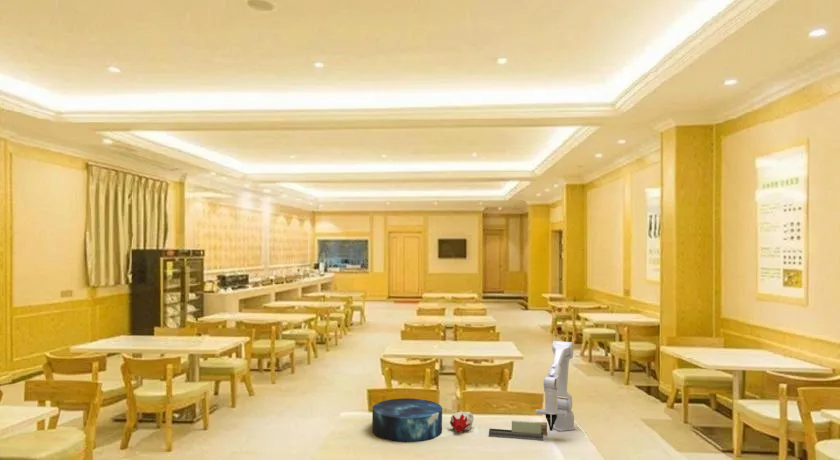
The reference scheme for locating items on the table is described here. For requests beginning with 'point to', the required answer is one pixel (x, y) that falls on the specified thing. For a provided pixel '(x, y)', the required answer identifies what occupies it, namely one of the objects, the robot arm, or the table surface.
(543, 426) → the block
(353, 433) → the table surface
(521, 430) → the pale green long bar
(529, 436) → the track
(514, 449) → the table surface
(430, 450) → the table surface
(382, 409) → the cylinder
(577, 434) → the table surface
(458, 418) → the rock with red coral
